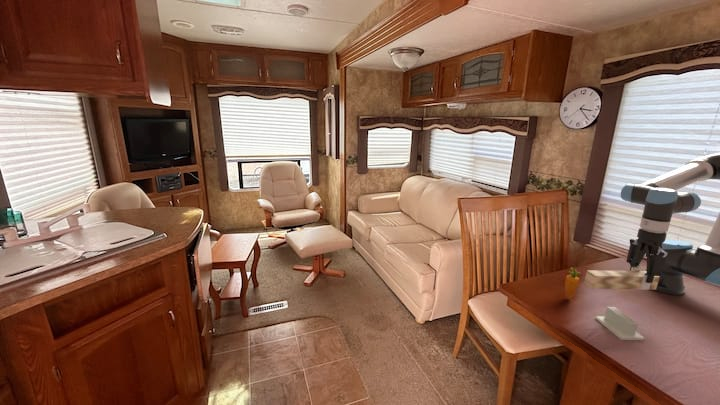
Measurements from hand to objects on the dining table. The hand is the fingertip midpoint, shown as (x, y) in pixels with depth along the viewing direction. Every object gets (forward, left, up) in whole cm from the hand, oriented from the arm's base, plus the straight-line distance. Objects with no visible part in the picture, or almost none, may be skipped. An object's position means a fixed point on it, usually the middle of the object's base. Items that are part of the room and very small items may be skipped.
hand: (638, 285), depth 114 cm
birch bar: (+7, 0, 0) cm, 7 cm away
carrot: (+17, -11, -14) cm, 25 cm away
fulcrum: (+11, +8, -14) cm, 20 cm away
